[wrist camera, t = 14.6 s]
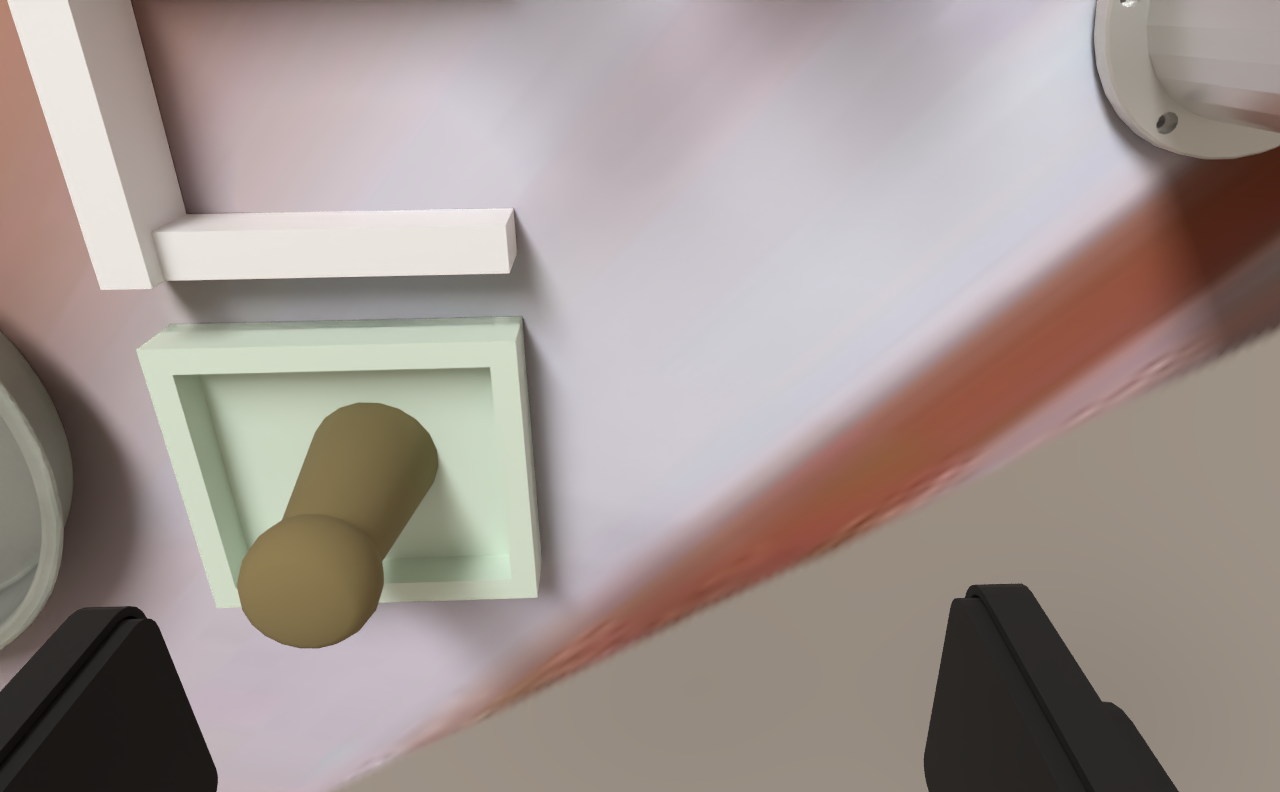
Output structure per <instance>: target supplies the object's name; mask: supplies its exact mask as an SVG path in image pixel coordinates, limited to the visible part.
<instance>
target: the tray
mask: <svg viewBox="0 0 1280 792" xmlns="http://www.w3.org/2000/svg"><path fill="white" fill-rule="evenodd" d="M136 351H137V355H138V358H139V361H140V364H141V367H142V371H143V374H144V377H145V380H146V383H147V387H148V390H149V393H150V396H151V399H152V403H153V406H154V409H155V412H156V415H157V418H158V422H159V425H160V428H161V431H162V434H163V438H164V441H165V444H166V447H167V450H168V454H169V457H170V460H171V463H172V466H173V470H174V473H175V476H176V479H177V482H178V486H179V489H180V492H181V495H182V498H183V502H184V505H185V508H186V511H187V514H188V517H189V521H190V524H191V527H192V530H193V533H194V537H195V540H196V543H197V546H198V549H199V553H200V556H201V559H202V562H203V565H204V569H205V572H206V575H207V578H208V581H209V585H210V588H211V591H212V594H213V597H214V601H215V604H216V607H217V608H235V607H242V606H241V603H240V598H239V594H238V590H237V582H238V577H239V572H240V567H241V563H242V560H243V558H244V557H245V555H246V554H247V552H248V551H249V549H250V548H251V546H252V545H253V544H254V542H255V541H256V539H257V538H258V537H259V536H260V535H261V534H262V533H264V532H265V531H266V530H268V529H269V528H271V527H272V526H274V525H275V524H277V523H278V522H280V521H281V520H282V518H283V516H284V513H285V510H286V508H287V505H288V502H289V500H290V497H291V494H292V492H293V489H294V486H295V484H296V481H297V478H298V476H299V473H300V471H301V468H302V465H303V463H304V460H305V457H306V455H307V452H308V449H309V447H310V444H311V441H312V439H313V436H314V433H315V431H316V430H317V428H318V427H319V426H320V424H321V423H322V421H323V420H324V418H325V417H327V416H328V415H330V414H331V413H333V412H334V411H336V410H337V409H339V408H340V407H344V406H348V405H351V404H355V403H358V402H361V403H381V404H385V405H388V406H392V407H395V408H398V409H400V410H402V411H404V412H405V413H407V414H408V415H410V416H412V417H413V418H415V419H416V420H417V421H418V422H419V423H420V424H421V425H422V426H423V427H424V428H425V429H426V430H427V432H428V433H429V434H430V436H431V438H432V440H433V442H434V445H435V447H436V449H437V456H438V470H437V473H436V477H435V480H434V483H433V484H432V486H431V487H430V489H429V490H428V492H427V494H426V495H425V497H424V498H423V500H422V501H421V503H420V504H419V506H418V507H417V509H416V511H415V512H414V514H413V515H412V517H411V518H410V520H409V521H408V523H407V524H406V526H405V528H404V529H403V531H402V532H401V534H400V535H399V537H398V538H397V540H396V541H395V543H394V545H393V546H392V548H391V549H390V551H389V552H388V554H387V555H386V557H385V558H384V560H383V561H382V563H383V571H384V586H383V589H382V593H381V596H380V600H379V603H389V602H420V601H451V600H481V599H512V598H538V590H539V582H540V573H541V565H542V554H541V542H540V530H539V517H538V505H537V493H536V480H535V468H534V456H533V443H532V431H531V418H530V406H529V394H528V381H527V369H526V357H525V344H524V332H523V320H522V316H511V317H468V318H424V319H381V320H338V321H294V322H251V323H208V324H171V325H169V326H168V327H166V328H165V329H164V330H162V331H161V332H160V333H158V334H157V335H156V336H154V337H153V338H152V339H150V340H149V341H148V342H146V343H145V344H143V345H142V346H141V347H139V348H138V349H137V350H136Z"/></svg>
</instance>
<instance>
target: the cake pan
mask: <svg viewBox="0 0 1280 792" xmlns="http://www.w3.org/2000/svg"><path fill="white" fill-rule="evenodd" d="M73 481H74V476H73V466H72V459H71V453H70V448H69V444H68V440H67V437H66V434H65V431H64V428H63V425H62V422H61V420H60V418H59V415H58V413H57V410H56V408H55V406H54V404H53V402H52V400H51V398H50V396H49V395H48V393H47V391H46V389H45V387H44V386H43V384H42V383H41V381H40V380H39V378H38V377H37V375H36V374H35V372H34V370H33V369H32V368H31V366H30V365H29V363H28V362H27V361H26V359H25V358H24V357H23V356H22V354H21V353H20V352H19V351H18V350H17V348H16V347H15V346H14V345H13V344H12V342H11V341H10V340H9V339H8V338H7V337H6V336H5V335H4V334H3V333H2V332H1V331H0V650H2V649H3V648H4V647H6V646H7V645H8V644H10V643H11V642H13V641H14V640H15V639H16V638H17V637H18V636H19V635H20V634H21V633H22V632H24V631H25V630H26V629H27V628H28V627H29V626H30V625H31V624H32V623H33V621H34V620H35V618H36V617H37V616H38V614H39V613H40V611H41V610H42V609H43V607H44V606H45V605H46V603H47V601H48V599H49V597H50V595H51V594H52V591H53V588H54V585H55V583H56V580H57V577H58V572H59V568H60V565H61V560H62V552H63V534H64V527H65V524H66V522H67V519H68V516H69V513H70V508H71V502H72V495H73Z"/></svg>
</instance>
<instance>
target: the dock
mask: <svg viewBox="0 0 1280 792" xmlns="http://www.w3.org/2000/svg"><path fill="white" fill-rule="evenodd" d="M7 1H8V4H9V7H10V10H11V13H12V16H13V19H14V22H15V25H16V29H17V32H18V35H19V38H20V41H21V44H22V47H23V50H24V53H25V56H26V60H27V63H28V66H29V69H30V72H31V75H32V78H33V81H34V84H35V87H36V91H37V94H38V97H39V100H40V103H41V106H42V109H43V112H44V115H45V118H46V122H47V125H48V128H49V131H50V134H51V137H52V140H53V143H54V146H55V149H56V153H57V156H58V159H59V162H60V165H61V168H62V171H63V174H64V177H65V180H66V184H67V187H68V190H69V193H70V196H71V199H72V202H73V205H74V208H75V211H76V215H77V218H78V221H79V224H80V227H81V230H82V233H83V236H84V239H85V242H86V246H87V249H88V252H89V255H90V258H91V261H92V264H93V267H94V270H95V273H96V277H97V280H98V283H99V286H100V289H101V290H117V289H153V288H154V287H156V286H157V285H159V284H160V283H162V282H164V281H181V280H227V279H273V278H319V277H365V276H412V275H458V274H504V273H510V271H511V268H512V266H513V263H514V260H515V257H516V255H517V245H516V233H515V221H514V208H486V209H434V210H383V211H332V212H280V213H229V214H186V210H185V206H184V203H183V199H182V195H181V191H180V187H179V184H178V180H177V176H176V172H175V168H174V164H173V161H172V157H171V153H170V149H169V145H168V142H167V138H166V134H165V130H164V126H163V122H162V119H161V115H160V111H159V107H158V103H157V100H156V96H155V92H154V88H153V84H152V80H151V77H150V73H149V69H148V65H147V61H146V57H145V54H144V50H143V46H142V42H141V38H140V35H139V31H138V27H137V23H136V19H135V15H134V12H133V8H132V4H131V0H7Z"/></svg>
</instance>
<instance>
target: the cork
mask: <svg viewBox="0 0 1280 792" xmlns="http://www.w3.org/2000/svg"><path fill="white" fill-rule="evenodd" d="M437 470H438V456H437V449H436V447H435V445H434V442H433V440H432V438H431V436H430V434H429V433H428V432H427V430H426V429H425V428H424V427H423V426H422V425H421V424H420V423H419V422H418V421H417V420H416V419H415V418H413V417H412V416H410V415H408V414H407V413H405V412H404V411H402V410H400V409H398V408H395V407H392V406H388V405H385V404H381V403H361V402H358V403H355V404H351V405H348V406H344V407H340V408H339V409H337V410H336V411H334V412H333V413H331V414H330V415H328V416H327V417H325V418H324V420H323V421H322V423H321V424H320V426H319V427H318V428H317V430H316V431H315V433H314V436H313V439H312V441H311V444H310V447H309V449H308V452H307V455H306V457H305V460H304V463H303V465H302V468H301V471H300V473H299V476H298V478H297V481H296V484H295V486H294V489H293V492H292V494H291V497H290V500H289V502H288V505H287V508H286V510H285V513H284V516H283V518H282V520H281V521H280V522H278V523H277V524H275V525H274V526H272V527H271V528H269V529H268V530H266V531H265V532H264V533H262V534H261V535H260V536H259V537H258V538H257V539H256V541H255V542H254V544H253V545H252V546H251V548H250V549H249V551H248V552H247V554H246V555H245V557H244V558H243V560H242V563H241V567H240V572H239V577H238V582H237V590H238V594H239V598H240V603H241V606H242V610H243V612H244V613H245V615H246V616H247V618H248V619H249V621H250V622H251V624H252V625H253V626H254V627H256V628H257V629H258V630H259V631H260V632H261V633H263V634H264V635H265V636H267V637H269V638H271V639H273V640H275V641H277V642H279V643H281V644H284V645H289V646H293V647H297V648H322V647H326V646H330V645H334V644H337V643H339V642H341V641H343V640H345V639H346V638H348V637H350V636H351V635H353V634H355V633H357V632H358V631H359V630H360V629H361V628H362V627H363V625H364V624H365V623H366V622H367V620H368V619H369V618H370V617H371V616H372V614H373V613H374V612H375V611H376V608H377V606H378V603H379V600H380V596H381V593H382V589H383V586H384V571H383V563H382V561H383V560H384V558H385V557H386V555H387V554H388V552H389V551H390V549H391V548H392V546H393V545H394V543H395V541H396V540H397V538H398V537H399V535H400V534H401V532H402V531H403V529H404V528H405V526H406V524H407V523H408V521H409V520H410V518H411V517H412V515H413V514H414V512H415V511H416V509H417V507H418V506H419V504H420V503H421V501H422V500H423V498H424V497H425V495H426V494H427V492H428V490H429V489H430V487H431V486H432V484H433V483H434V480H435V477H436V473H437Z"/></svg>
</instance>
